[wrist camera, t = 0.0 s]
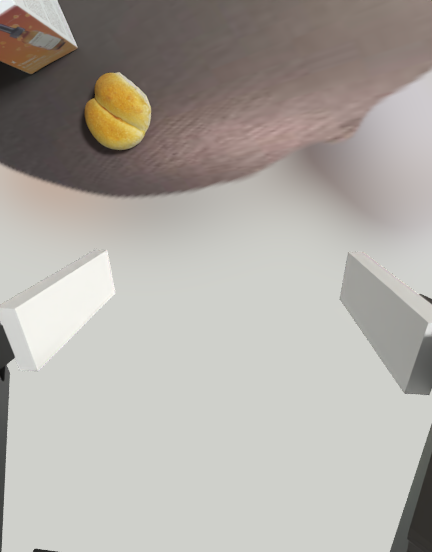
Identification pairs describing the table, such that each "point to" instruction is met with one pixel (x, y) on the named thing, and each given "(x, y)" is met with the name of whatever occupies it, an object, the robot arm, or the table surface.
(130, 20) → the table surface
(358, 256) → the robot arm
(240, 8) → the table surface
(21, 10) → the small box
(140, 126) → the bread roll
